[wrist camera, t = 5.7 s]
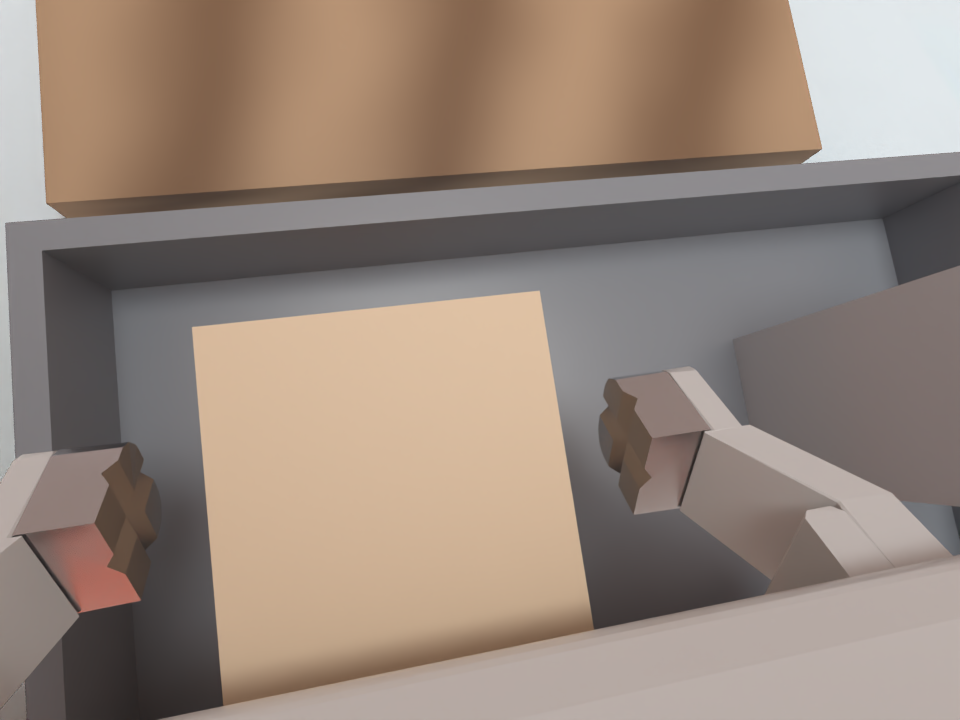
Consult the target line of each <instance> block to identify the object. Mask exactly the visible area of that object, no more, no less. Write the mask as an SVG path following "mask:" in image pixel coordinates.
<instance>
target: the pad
mask: <svg viewBox="0 0 960 720" xmlns="http://www.w3.org/2000/svg"><path fill="white" fill-rule="evenodd" d="M36 17H37V36H38V55H39V74H40V93H41V112H42V131H43V150H44V169H45V187H46V203H47V204H48V205H49V206H51V207H52V208H53V209H55V210H56V211H58V212H59V213H60V214H62V215H63V216H65V217H66V218H78V217H91V216H105V215H118V214H132V213H145V212H159V211H172V210H186V209H199V208H213V207H226V206H239V205H253V204H266V203H280V202H293V201H307V200H320V199H334V198H347V197H361V196H374V195H388V194H401V193H414V192H428V191H441V190H455V189H468V188H482V187H495V186H509V185H522V184H536V183H549V182H563V181H576V180H590V179H603V178H616V177H630V176H643V175H657V174H670V173H684V172H697V171H711V170H724V169H738V168H751V167H765V166H778V165H791V164H801V163H803V162H804V161H806V160H807V159H809V158H810V157H811V156H813V155H814V154H816V153H817V152H819V151H820V150H821V149H822V146H821V141H820V137H819V133H818V128H817V124H816V120H815V115H814V111H813V106H812V102H811V98H810V93H809V89H808V85H807V80H806V76H805V72H804V67H803V63H802V58H801V54H800V50H799V45H798V41H797V37H796V32H795V28H794V24H793V19H792V15H791V11H790V6H789V2H788V0H36Z"/></svg>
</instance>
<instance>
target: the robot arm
mask: <svg viewBox="0 0 960 720" xmlns="http://www.w3.org/2000/svg"><path fill="white" fill-rule="evenodd" d="M603 397H604V399H605V401H606V403H607V404H608V407H607V408H606V409H605V410H604V411H603V412H602V413H601V414H600V417H599V425H598V435H599V444H600V447H601V451H602V454H603V456H604V458H605V460H606V463H607V465H608V466H609V467H610V468H612V469H614V470H615V471H617V472H618V473H620V478H619V483H618V486H619V488H620V490H621V492H622V494H623V496H624V498H625V500H626V502H627V503H628V505H629V507H630V509H631V511H632V513H633V515H636V514H643V513H650V512H657V511H664V510H671V509H677V508H680V511H681V512H682V513H684V514H685V515H686V516H688V517H689V518H690V519H692V520H693V521H694V522H695V523H697V524H698V525H699V526H701V527H702V528H703V529H705V530H706V531H707V532H709V533H710V534H711V535H713V536H714V537H715V538H717V539H718V540H719V541H720V542H722V543H723V544H724V545H726V546H727V547H728V548H730V549H731V550H732V551H734V552H735V553H736V554H738V555H739V556H740V557H742V558H743V559H744V560H745V561H747V562H748V563H749V564H751V565H752V566H753V567H755V568H756V569H757V570H759V571H760V572H761V573H763V574H764V575H765V576H767V577H768V578H769V579H771V582H770V584H769V586H768V588H767V590H766V592H765V594H764V595H761V596H756V597H751V598H746V599H741V600H736V601H732V602H727V603H722V604H717V605H712V606H707V607H702V608H697V609H693V610H688V611H683V612H678V613H673V614H668V615H663V616H659V617H654V618H649V619H644V620H639V621H634V622H630V623H625V624H620V625H615V626H610V627H605V628H600V629H596V630H591V631H586V632H581V633H576V634H571V635H567V636H562V637H557V638H552V639H547V640H542V641H537V642H533V643H528V644H523V645H518V646H513V647H508V648H504V649H499V650H494V651H489V652H484V653H479V654H474V655H470V656H465V657H460V658H455V659H450V660H445V661H441V662H436V663H431V664H426V665H421V666H416V667H411V668H406V669H402V670H397V671H392V672H387V673H382V674H377V675H372V676H368V677H363V678H358V679H353V680H348V681H343V682H338V683H334V684H329V685H324V686H319V687H314V688H309V689H304V690H299V691H295V692H290V693H285V694H280V695H275V696H270V697H265V698H261V699H256V700H251V701H246V702H241V703H236V704H231V705H226V706H222V707H217V708H212V709H207V710H202V711H197V712H192V713H188V714H183V715H178V716H173V717H168V718H163V719H158V720H960V555H955V556H953V555H952V554H951V553H950V552H949V551H948V550H947V549H946V548H945V547H944V546H943V545H942V544H941V543H940V542H939V541H938V540H937V539H936V538H935V537H934V536H933V535H932V534H931V533H930V532H929V531H928V530H927V529H926V528H925V527H924V526H923V525H922V523H921V522H920V521H919V520H918V519H917V518H916V517H915V516H914V515H913V514H912V513H911V512H910V511H909V510H908V509H907V508H906V507H905V506H904V505H903V504H902V503H901V502H900V501H899V500H898V499H897V498H896V497H895V496H894V495H893V494H892V493H891V492H889V491H887V490H884V489H882V488H880V487H878V486H876V485H874V484H872V483H870V482H868V481H866V480H864V479H862V478H860V477H857V476H855V475H853V474H851V473H849V472H847V471H845V470H843V469H841V468H839V467H837V466H835V465H832V464H830V463H828V462H826V461H824V460H822V459H820V458H818V457H816V456H814V455H812V454H810V453H808V452H805V451H803V450H801V449H799V448H797V447H795V446H793V445H791V444H789V443H787V442H785V441H783V440H781V439H778V438H776V437H774V436H772V435H770V434H768V433H766V432H764V431H762V430H760V429H758V428H756V427H754V426H751V425H745V426H742V425H741V424H740V423H739V422H738V421H737V419H736V418H735V417H734V416H733V414H732V413H731V412H730V411H729V410H728V408H727V407H726V406H725V405H724V403H723V402H722V401H721V400H720V399H719V397H718V396H717V395H716V394H715V392H714V391H713V390H712V389H711V388H710V386H709V385H708V384H707V383H706V381H705V380H704V379H703V378H702V377H701V375H700V374H699V373H698V372H697V371H696V370H695V369H694V368H692V367H690V366H687V367H681V368H674V369H667V370H662V371H657V372H650V373H643V374H636V375H629V376H622V377H614V378H609V379H608V380H607V382H606V384H605V387H604V393H603ZM143 461H144V458H143V456H142V455H141V453H140V451H139V449H138V447H137V445H136V444H133V443H130V442H124V443H115V444H106V445H97V446H88V447H79V448H71V449H62V450H58V451H49V452H40V453H31V454H23V455H21V456H20V457H18V458H17V459H15V460H14V461H13V462H12V463H11V465H10V467H9V469H8V470H7V472H6V474H5V476H4V477H3V479H2V481H1V483H0V709H1V708H2V707H3V706H4V705H5V703H6V702H7V701H8V700H9V699H10V697H11V696H12V695H13V694H14V693H15V692H16V690H17V689H18V688H19V687H20V686H21V685H22V683H23V682H24V681H25V680H26V679H27V677H28V676H29V675H30V674H31V673H32V672H33V670H34V669H35V668H36V667H37V666H38V664H39V663H40V662H41V661H42V660H43V659H44V657H45V656H46V655H47V654H48V653H49V652H50V650H51V649H52V648H53V647H54V646H55V644H56V643H57V642H58V641H59V640H60V639H61V637H62V636H63V635H64V634H65V633H66V632H67V630H68V629H69V628H70V627H71V626H72V624H73V623H74V622H75V621H76V620H77V619H78V617H79V614H78V613H81V612H86V611H91V610H96V609H101V608H106V607H111V606H116V605H121V604H126V603H131V602H136V601H141V599H142V595H143V591H144V588H145V584H146V580H147V577H148V573H149V569H150V565H151V561H150V559H149V557H148V555H147V553H146V551H145V550H146V549H147V548H148V547H149V546H150V545H151V544H152V543H153V542H154V541H155V540H156V539H157V538H158V534H159V530H160V526H161V516H162V503H161V499H160V495H159V490H158V488H157V486H156V484H155V481H154V479H152V478H150V477H149V476H147V475H145V474H143V473H141V472H140V471H141V468H142V465H143Z"/></svg>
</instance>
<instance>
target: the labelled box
mask: <svg viewBox="0 0 960 720" xmlns="http://www.w3.org/2000/svg"><path fill="white" fill-rule="evenodd" d="M192 334H193V346H194V359H195V371H196V383H197V395H198V407H199V419H200V431H201V443H202V455H203V467H204V479H205V491H206V503H207V515H208V527H209V539H210V551H211V563H212V575H213V587H214V599H215V611H216V623H217V635H218V647H219V659H220V671H221V683H222V695H223V706H226V705H231V704H236V703H241V702H246V701H251V700H256V699H261V698H265V697H270V696H275V695H280V694H285V693H290V692H295V691H299V690H304V689H309V688H314V687H319V686H324V685H329V684H334V683H338V682H343V681H348V680H353V679H358V678H363V677H368V676H372V675H377V674H382V673H387V672H392V671H397V670H402V669H406V668H411V667H416V666H421V665H426V664H431V663H436V662H441V661H445V660H450V659H455V658H460V657H465V656H470V655H474V654H479V653H484V652H489V651H494V650H499V649H504V648H508V647H513V646H518V645H523V644H528V643H533V642H537V641H542V640H547V639H552V638H557V637H562V636H567V635H571V634H576V633H581V632H586V631H591V630H594V627H593V621H592V614H591V608H590V602H589V596H588V589H587V583H586V577H585V571H584V564H583V558H582V552H581V546H580V539H579V533H578V527H577V521H576V514H575V508H574V502H573V496H572V489H571V483H570V477H569V471H568V465H567V458H566V452H565V446H564V440H563V433H562V427H561V421H560V415H559V408H558V402H557V396H556V390H555V383H554V377H553V371H552V365H551V358H550V352H549V346H548V340H547V333H546V327H545V321H544V315H543V309H542V302H541V296H540V291H531V292H522V293H512V294H503V295H493V296H484V297H474V298H465V299H455V300H446V301H436V302H426V303H417V304H407V305H398V306H388V307H379V308H369V309H360V310H350V311H341V312H331V313H322V314H312V315H303V316H293V317H284V318H274V319H265V320H255V321H246V322H236V323H227V324H217V325H208V326H198V327H192Z"/></svg>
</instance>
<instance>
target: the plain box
mask: <svg viewBox="0 0 960 720" xmlns="http://www.w3.org/2000/svg"><path fill="white" fill-rule="evenodd" d="M733 344H734V349H735V354H736V359H737V364H738V369H739V374H740V379H741V384H742V389H743V394H744V399H745V404H746V409H747V414H748V419H749V424H750V425H751V426H754V427H756V428H758V429H760V430H762V431H764V432H766V433H768V434H770V435H772V436H774V437H776V438H778V439H781V440H783V441H785V442H787V443H789V444H791V445H793V446H795V447H797V448H799V449H801V450H803V451H805V452H808V453H810V454H812V455H814V456H816V457H818V458H820V459H822V460H824V461H826V462H828V463H830V464H832V465H835V466H837V467H839V468H841V469H843V470H845V471H847V472H849V473H851V474H853V475H855V476H857V477H860V478H862V479H864V480H866V481H868V482H870V483H872V484H874V485H876V486H878V487H880V488H882V489H884V490H887V491H889V492H891V493H892V494H893V495H894V496H895V497H896V498H897V499H898V500H899V501H906V502H917V503H927V504H937V505H947V506H958V507H960V266H957V267H954V268H951V269H948V270H945V271H942V272H938V273H935V274H932V275H929V276H926V277H923V278H920V279H917V280H914V281H911V282H908V283H905V284H902V285H899V286H895V287H892V288H889V289H886V290H883V291H880V292H877V293H874V294H871V295H868V296H865V297H862V298H859V299H856V300H852V301H849V302H846V303H843V304H840V305H837V306H834V307H831V308H828V309H825V310H822V311H819V312H816V313H813V314H809V315H806V316H803V317H800V318H797V319H794V320H791V321H788V322H785V323H782V324H779V325H776V326H773V327H770V328H766V329H763V330H760V331H757V332H754V333H751V334H748V335H745V336H742V337H739V338H736V339H733Z"/></svg>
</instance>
